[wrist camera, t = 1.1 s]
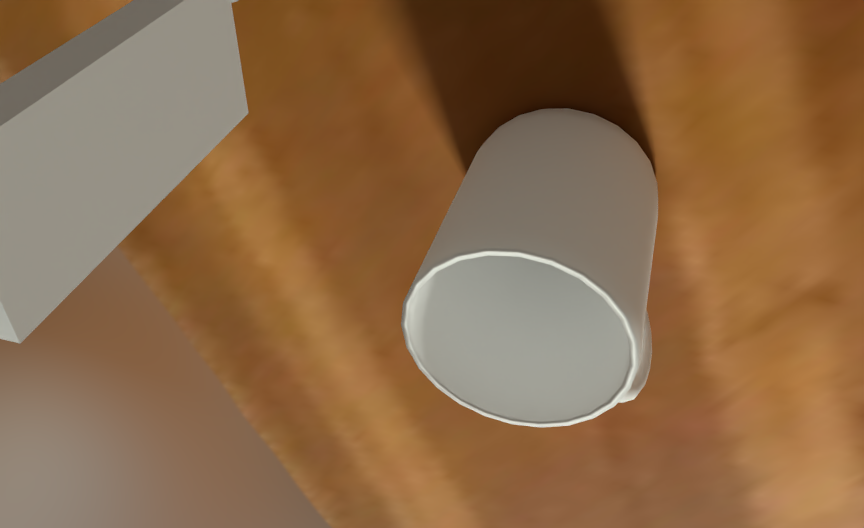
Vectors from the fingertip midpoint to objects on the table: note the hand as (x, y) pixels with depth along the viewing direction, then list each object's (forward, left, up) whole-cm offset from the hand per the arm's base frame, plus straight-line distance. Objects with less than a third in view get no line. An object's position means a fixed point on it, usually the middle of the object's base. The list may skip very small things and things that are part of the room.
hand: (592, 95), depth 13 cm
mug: (+16, -2, -22) cm, 27 cm away
